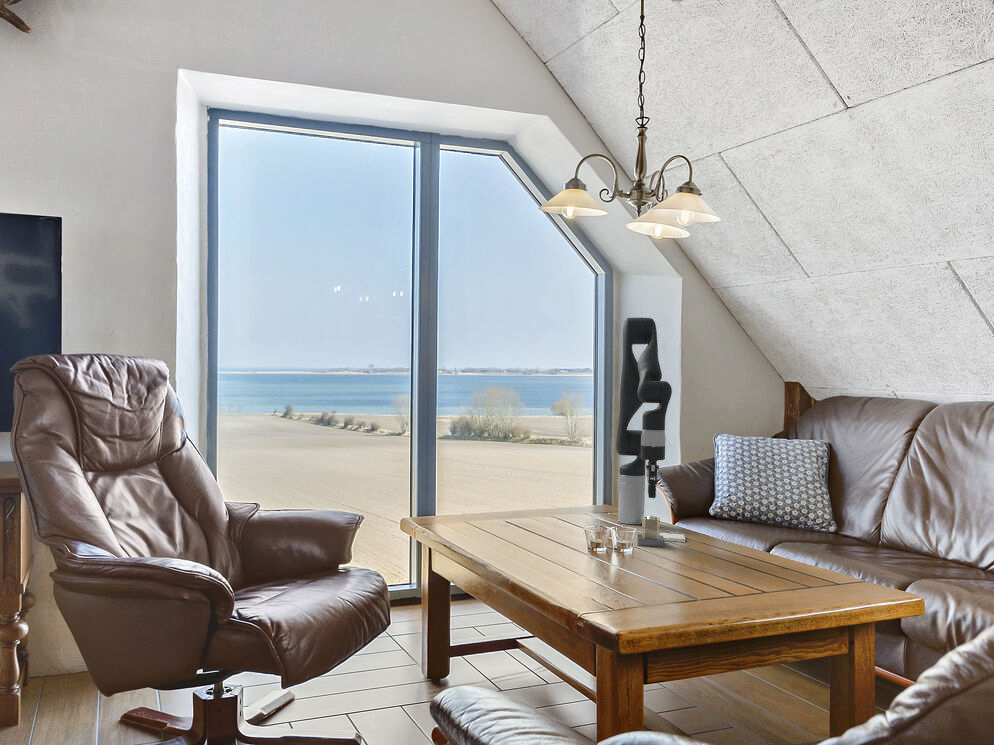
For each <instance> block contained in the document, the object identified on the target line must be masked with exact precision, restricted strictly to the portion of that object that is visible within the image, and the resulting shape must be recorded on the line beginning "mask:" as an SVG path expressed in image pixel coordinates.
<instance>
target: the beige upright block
mask: <svg viewBox="0 0 994 745" xmlns="http://www.w3.org/2000/svg"><path fill="white" fill-rule="evenodd" d="M641 525H642V526H641V530H642V531H641V534H642V538H645V539H659V536H660V533H661V532H660V531H661V530H660V527H661V526H660V525H661V518H660V517H658V516H655V519H647V516H645V515H644V516H643V522H642V524H641Z"/></svg>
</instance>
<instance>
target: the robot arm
mask: <svg viewBox="0 0 994 745" xmlns="http://www.w3.org/2000/svg"><path fill="white" fill-rule="evenodd" d="M656 324H657V323H656V322H655V320H654V319H653V318H652V317H626V318H625V319H624V321H623V324H622V363H621V373H620V374H621V375H620V385H619V386H620V389H619V412H618V413H619V415H618V424H617V430H616V431H617V432H616V441H615V442H616V443H615V449H616V453H617V454H618V455H620V456H633V457H636V458H635V459H634V460H633V461H631V462H628V463H626V464H622V465H621V466H619V474H618V475H619V477H618V479H619V480H618V481H619V482H618V512H617V516H618V518H617V523H621V524H626V525H642V522H643V516H645V503H646V501H645V500H646V492H645V491H646V479H647V494H648V498H649V499H656V497H657V495H656V494H657V485H658V479H659V472H660V466H659V465H658V464H657V463H658V461H664V460H665V459H666V415H667V412H668V411H667V410H668V407H669V404H670V401H671V398H672V394H673V387H672V386H671V384H670V382H668V381H665V380H662V377H663V375H662V370H661V364H660V360H659V347H658V332H657V325H656ZM633 345H647V346H646V347H645V348H644V350H643V351H642V353H641V354H640V355H639V357H638V359H637V358H636V356H635V354H634V351H633ZM643 404H658V405H657V407H656V408H654V409H651V410H646V411H644V412H643V413H642V423H641V424H642V425H641V427H642V430H640V429H639V430H637V429H636V430H635V429H628V426H629V424H630V422H631V420H632V419H633V417H634V415H635V414H636V413H637V412H638V410H639V409H640V408H641V407H642V406H643ZM646 462H647V464H646Z"/></svg>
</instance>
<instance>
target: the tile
mask: <svg viewBox="0 0 994 745" xmlns="http://www.w3.org/2000/svg"><path fill="white" fill-rule="evenodd" d="M660 536H663V537H664V542H678V543H686V537H685V534H683V533H667V532H660Z"/></svg>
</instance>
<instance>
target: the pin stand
mask: <svg viewBox="0 0 994 745" xmlns="http://www.w3.org/2000/svg"><path fill="white" fill-rule="evenodd" d="M646 517H647V519H655V517H656V516H654V515H647V516H646ZM637 546H643V547H655V548H656V547H657V548H658V547H659V548H660V547H661V548H664V547H665V541H664V537H663V536H659V539H645V538H642V533H638V534H637Z"/></svg>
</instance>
